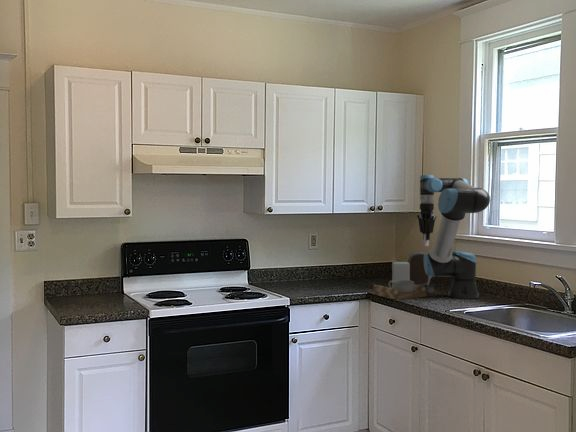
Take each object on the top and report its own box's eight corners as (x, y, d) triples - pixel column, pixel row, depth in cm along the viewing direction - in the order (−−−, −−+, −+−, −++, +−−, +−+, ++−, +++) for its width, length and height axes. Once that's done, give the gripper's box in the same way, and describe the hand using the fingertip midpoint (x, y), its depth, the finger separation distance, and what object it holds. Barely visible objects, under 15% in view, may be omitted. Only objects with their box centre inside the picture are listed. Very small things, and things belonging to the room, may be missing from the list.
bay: (440, 296, 325) (440, 279, 325) (399, 300, 311) (399, 282, 311) (412, 290, 343) (413, 274, 343) (373, 294, 329) (373, 277, 329)
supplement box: (408, 288, 350) (408, 261, 350) (409, 290, 341) (410, 263, 341) (391, 288, 351) (392, 261, 351) (392, 290, 342) (393, 263, 342)
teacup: (418, 296, 323) (418, 281, 322) (405, 299, 315) (405, 283, 315) (396, 293, 333) (396, 278, 333) (383, 295, 325) (383, 280, 325)
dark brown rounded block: (405, 286, 359) (406, 251, 358) (406, 283, 367) (406, 249, 366) (432, 287, 355) (433, 251, 355) (432, 284, 364) (432, 250, 363)
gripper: (413, 202, 347) (412, 245, 348) (430, 203, 335) (429, 247, 336) (423, 202, 351) (423, 244, 351) (440, 203, 339) (439, 246, 340)
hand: (426, 245), depth 344 cm, fingers closed
